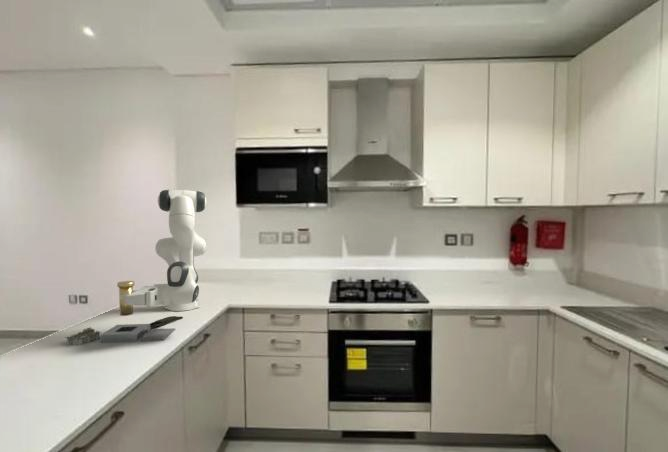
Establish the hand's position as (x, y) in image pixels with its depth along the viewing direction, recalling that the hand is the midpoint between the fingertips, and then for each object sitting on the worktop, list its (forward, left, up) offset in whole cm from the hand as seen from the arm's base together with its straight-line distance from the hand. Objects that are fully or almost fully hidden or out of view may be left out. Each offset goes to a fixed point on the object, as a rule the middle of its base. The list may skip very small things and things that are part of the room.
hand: (123, 295), depth 155 cm
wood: (-17, +9, -18) cm, 27 cm away
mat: (0, +14, -17) cm, 22 cm away
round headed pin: (0, +1, -8) cm, 8 cm away
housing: (0, +1, -17) cm, 17 cm away
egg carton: (+4, -14, -18) cm, 23 cm away
